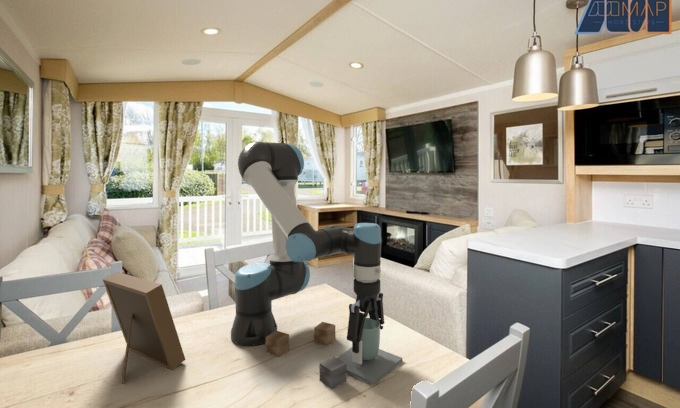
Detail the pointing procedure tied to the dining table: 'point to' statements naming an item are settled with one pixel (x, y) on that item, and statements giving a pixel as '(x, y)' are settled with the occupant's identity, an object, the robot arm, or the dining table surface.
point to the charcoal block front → (332, 372)
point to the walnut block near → (277, 343)
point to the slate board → (370, 366)
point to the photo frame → (144, 319)
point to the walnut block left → (324, 333)
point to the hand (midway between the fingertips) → (366, 355)
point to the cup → (370, 339)
